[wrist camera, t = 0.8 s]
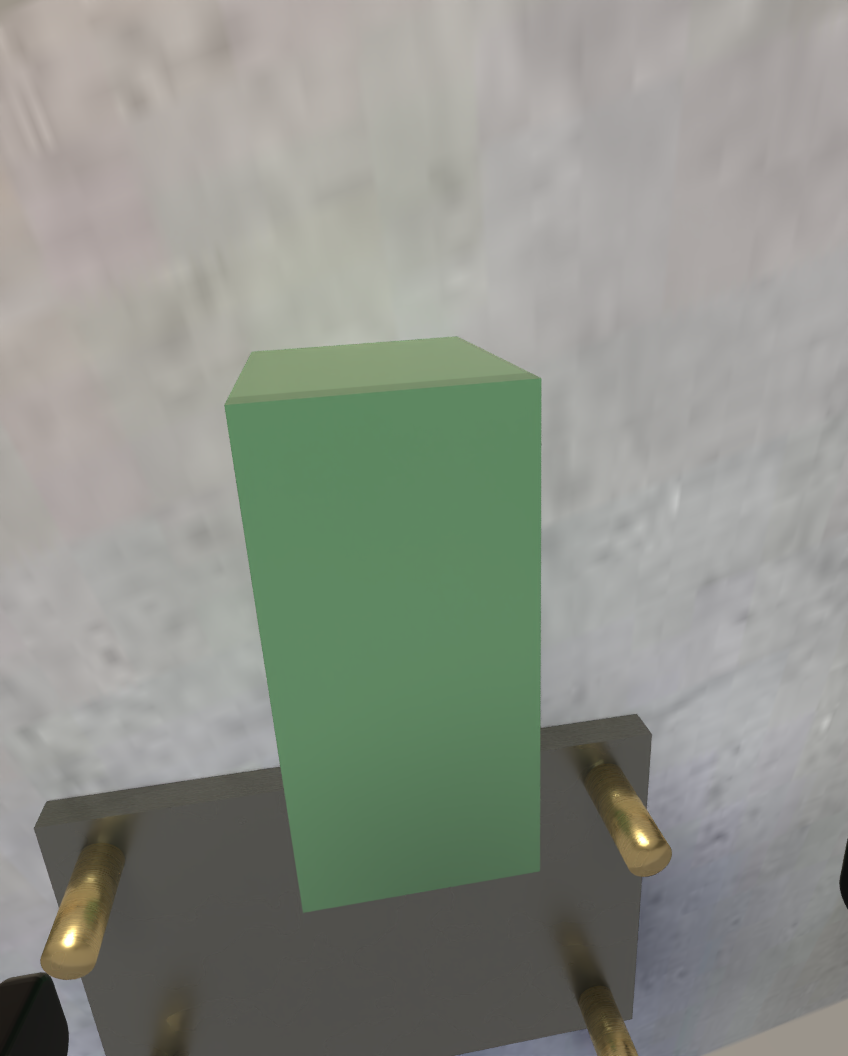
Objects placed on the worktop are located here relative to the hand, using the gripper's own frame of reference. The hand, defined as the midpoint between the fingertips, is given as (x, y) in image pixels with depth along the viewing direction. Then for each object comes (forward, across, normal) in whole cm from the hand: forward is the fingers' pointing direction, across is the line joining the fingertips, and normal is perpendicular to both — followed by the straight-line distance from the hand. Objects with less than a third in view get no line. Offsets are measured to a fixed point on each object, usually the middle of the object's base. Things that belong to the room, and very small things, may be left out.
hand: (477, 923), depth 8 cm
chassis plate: (+12, +1, +12) cm, 17 cm away
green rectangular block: (+12, 0, 0) cm, 12 cm away
